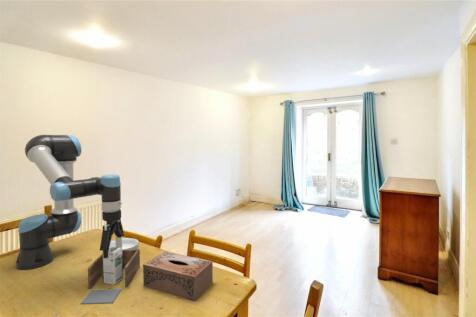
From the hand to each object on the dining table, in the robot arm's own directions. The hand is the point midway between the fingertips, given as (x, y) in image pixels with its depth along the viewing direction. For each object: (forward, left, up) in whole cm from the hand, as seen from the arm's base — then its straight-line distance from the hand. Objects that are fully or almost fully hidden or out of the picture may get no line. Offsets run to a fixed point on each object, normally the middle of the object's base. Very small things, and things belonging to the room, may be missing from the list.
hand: (113, 257), depth 116 cm
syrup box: (0, 0, -11) cm, 11 cm away
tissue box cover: (+29, -5, -11) cm, 31 cm away
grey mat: (0, -12, -11) cm, 16 cm away
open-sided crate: (0, +3, -11) cm, 11 cm away
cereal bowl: (-5, +25, -11) cm, 28 cm away
